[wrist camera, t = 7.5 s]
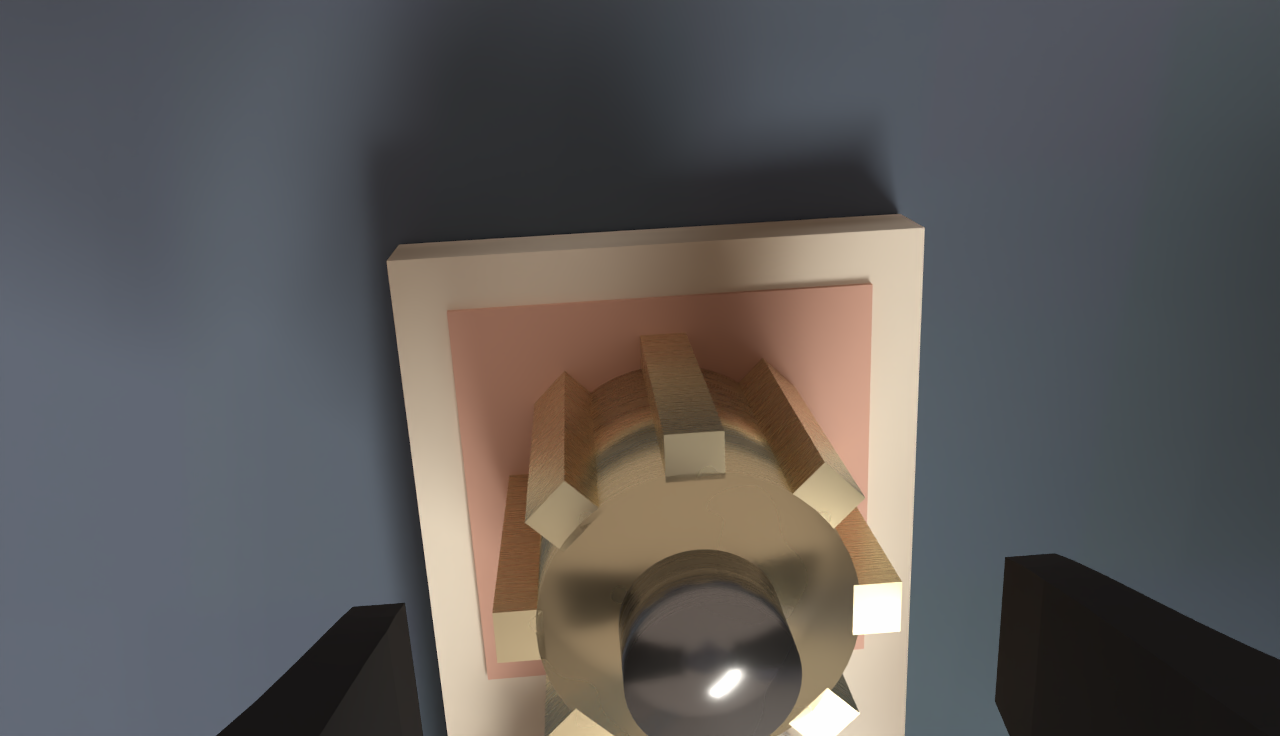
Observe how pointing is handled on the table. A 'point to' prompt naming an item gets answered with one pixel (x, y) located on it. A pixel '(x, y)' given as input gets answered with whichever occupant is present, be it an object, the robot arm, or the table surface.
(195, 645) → the table surface
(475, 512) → the plate
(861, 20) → the table surface
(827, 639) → the planet gear
